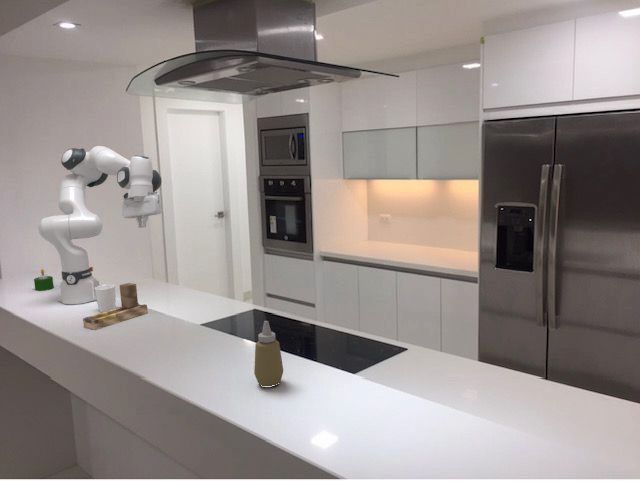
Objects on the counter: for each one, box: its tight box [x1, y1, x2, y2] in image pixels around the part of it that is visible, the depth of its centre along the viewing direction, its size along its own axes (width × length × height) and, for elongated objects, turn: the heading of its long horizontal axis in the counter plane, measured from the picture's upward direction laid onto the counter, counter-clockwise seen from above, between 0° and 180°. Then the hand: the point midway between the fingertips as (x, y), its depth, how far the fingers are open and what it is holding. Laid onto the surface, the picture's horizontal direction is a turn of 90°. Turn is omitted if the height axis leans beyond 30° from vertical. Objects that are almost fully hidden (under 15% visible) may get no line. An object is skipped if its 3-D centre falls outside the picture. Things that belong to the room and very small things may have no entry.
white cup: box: [95, 284, 117, 313], centre depth 229 cm, size 8×8×10 cm
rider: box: [119, 282, 139, 310], centre depth 219 cm, size 4×4×10 cm
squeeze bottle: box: [253, 320, 284, 386], centre depth 149 cm, size 8×8×18 cm
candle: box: [33, 268, 55, 292], centre depth 270 cm, size 8×8×10 cm
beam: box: [82, 302, 149, 331], centre depth 215 cm, size 24×7×4 cm, turn 145°
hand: (141, 227), depth 224 cm, fingers closed
